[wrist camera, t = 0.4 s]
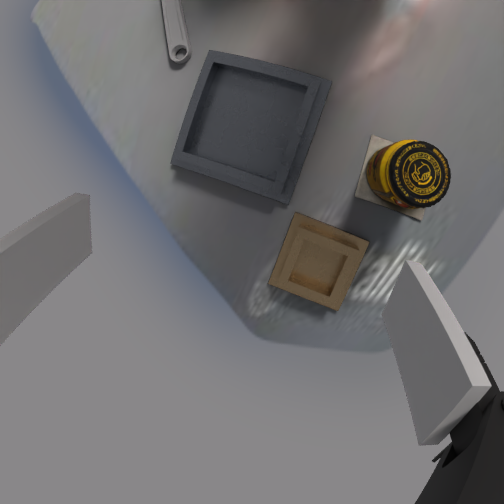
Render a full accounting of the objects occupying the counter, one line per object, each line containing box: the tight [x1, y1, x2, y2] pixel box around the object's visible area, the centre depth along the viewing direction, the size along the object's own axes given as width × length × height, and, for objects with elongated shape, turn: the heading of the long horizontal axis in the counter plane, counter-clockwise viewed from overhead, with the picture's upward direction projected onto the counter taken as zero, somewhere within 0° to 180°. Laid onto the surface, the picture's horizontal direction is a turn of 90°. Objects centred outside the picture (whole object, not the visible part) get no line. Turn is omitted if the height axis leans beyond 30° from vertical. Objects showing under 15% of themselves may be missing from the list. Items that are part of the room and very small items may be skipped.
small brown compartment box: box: [268, 212, 369, 311], centre depth 36 cm, size 9×9×3 cm
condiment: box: [355, 135, 451, 220], centre depth 27 cm, size 7×8×12 cm
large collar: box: [170, 50, 332, 205], centre depth 33 cm, size 15×15×3 cm
